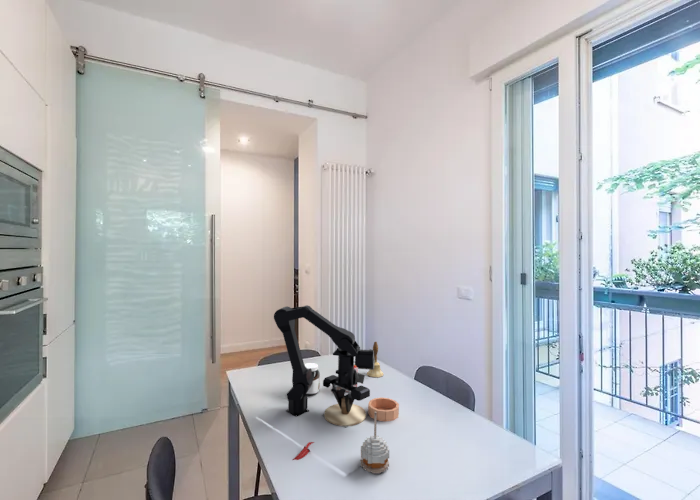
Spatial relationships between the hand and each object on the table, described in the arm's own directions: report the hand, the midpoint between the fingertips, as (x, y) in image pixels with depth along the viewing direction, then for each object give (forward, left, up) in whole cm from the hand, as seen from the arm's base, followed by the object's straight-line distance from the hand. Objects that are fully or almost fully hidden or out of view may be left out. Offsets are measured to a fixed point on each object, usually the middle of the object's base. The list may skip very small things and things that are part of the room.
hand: (345, 410), depth 120 cm
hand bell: (+41, +19, -3) cm, 45 cm away
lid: (0, 0, -2) cm, 2 cm away
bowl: (+11, -9, -2) cm, 14 cm away
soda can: (+18, +15, -2) cm, 24 cm away
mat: (0, 0, -2) cm, 2 cm away
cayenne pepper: (-23, -6, -3) cm, 24 cm away
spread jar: (+4, +27, -3) cm, 27 cm away
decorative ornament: (-14, -25, -3) cm, 29 cm away
